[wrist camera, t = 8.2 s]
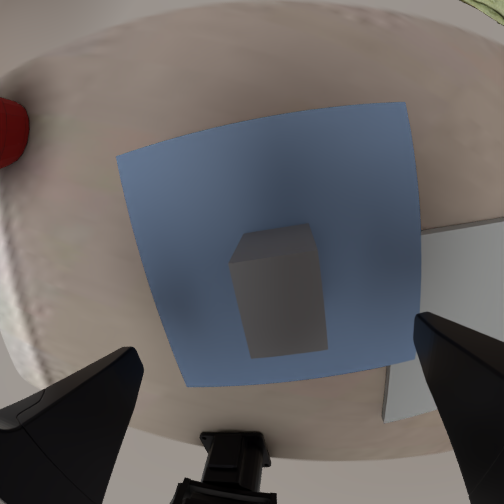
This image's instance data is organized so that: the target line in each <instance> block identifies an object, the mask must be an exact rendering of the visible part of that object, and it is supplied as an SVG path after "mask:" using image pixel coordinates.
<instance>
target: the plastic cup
mask: <svg viewBox="0 0 504 504" xmlns="http://www.w3.org/2000/svg"><path fill="white" fill-rule="evenodd" d="M28 134H29V118H28V115H27V112H26V109H25V108H24V107H22V106H21V105H20V104H18V103H17V102H15V101H11V100H8V99H4V98H1V97H0V169H1V168H4V167H6V166H8V165H10V164H12V163H13V162H15V161H17V160H18V159H19V157H20V156H21V155H22V154H23V151H24V149H25V146H26V144H27V140H28Z"/></svg>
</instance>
